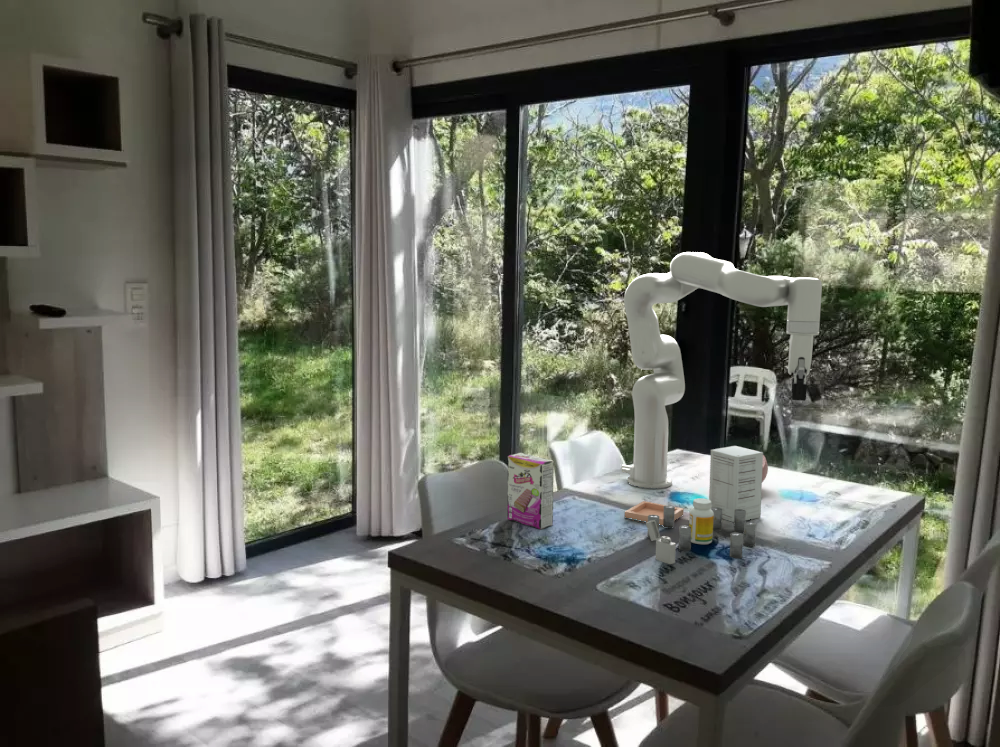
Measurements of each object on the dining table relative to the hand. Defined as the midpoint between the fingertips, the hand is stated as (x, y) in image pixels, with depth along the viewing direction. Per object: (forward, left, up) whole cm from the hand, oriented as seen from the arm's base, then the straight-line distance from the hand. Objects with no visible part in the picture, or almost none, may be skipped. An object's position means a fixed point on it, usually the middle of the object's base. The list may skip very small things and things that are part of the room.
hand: (798, 396), depth 205 cm
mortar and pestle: (-18, +17, -31) cm, 39 cm away
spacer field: (-12, -30, -30) cm, 44 cm away
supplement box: (-12, -9, -31) cm, 34 cm away
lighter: (-15, -48, -31) cm, 59 cm away
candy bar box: (-51, -44, -31) cm, 74 cm away
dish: (-28, -22, -30) cm, 47 cm away
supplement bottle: (-12, -32, -31) cm, 46 cm away
